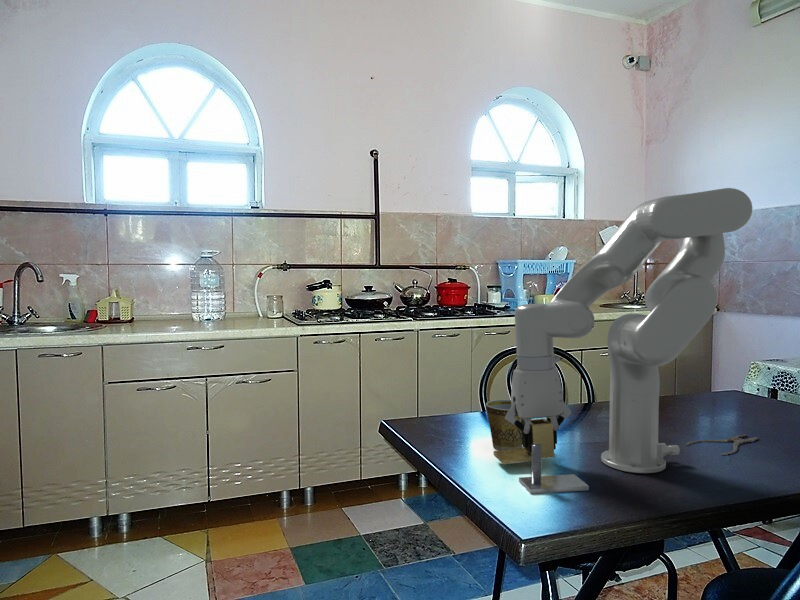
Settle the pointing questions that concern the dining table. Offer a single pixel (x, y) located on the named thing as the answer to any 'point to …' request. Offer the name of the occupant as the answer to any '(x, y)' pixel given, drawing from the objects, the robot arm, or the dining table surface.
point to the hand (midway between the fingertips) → (539, 448)
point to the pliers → (735, 439)
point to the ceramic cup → (503, 426)
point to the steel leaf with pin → (549, 478)
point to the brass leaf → (540, 435)
